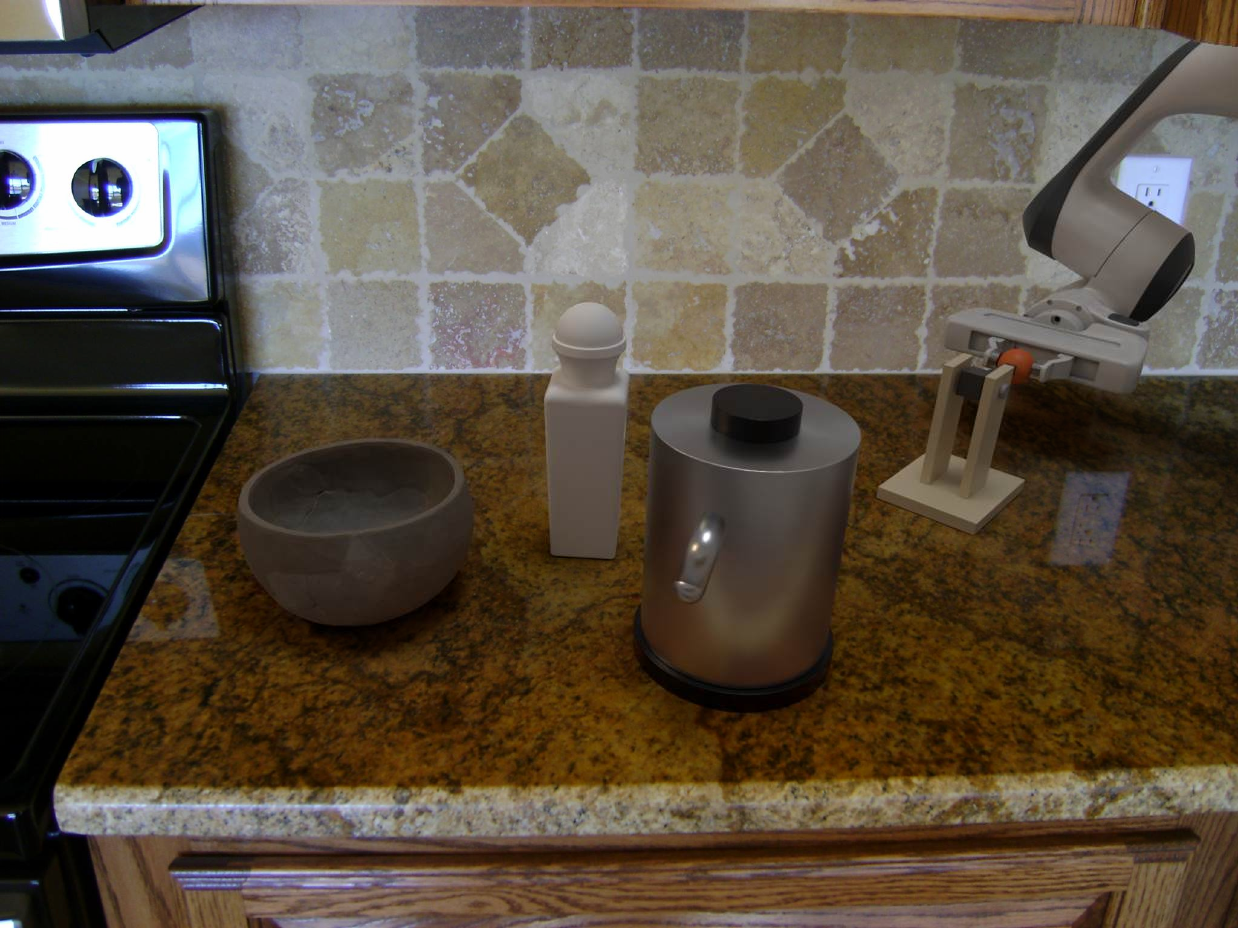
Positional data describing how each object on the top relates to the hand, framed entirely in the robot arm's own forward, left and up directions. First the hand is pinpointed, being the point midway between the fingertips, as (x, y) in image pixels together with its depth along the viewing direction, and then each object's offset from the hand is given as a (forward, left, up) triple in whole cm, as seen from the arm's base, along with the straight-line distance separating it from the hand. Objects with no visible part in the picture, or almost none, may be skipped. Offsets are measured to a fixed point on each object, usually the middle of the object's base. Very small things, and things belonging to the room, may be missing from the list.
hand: (1013, 367), depth 95 cm
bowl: (+11, +65, -11) cm, 67 cm away
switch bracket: (-3, +10, -11) cm, 15 cm away
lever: (-1, +4, -1) cm, 5 cm away
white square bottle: (+8, +46, -11) cm, 48 cm away
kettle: (-10, +44, -11) cm, 46 cm away
